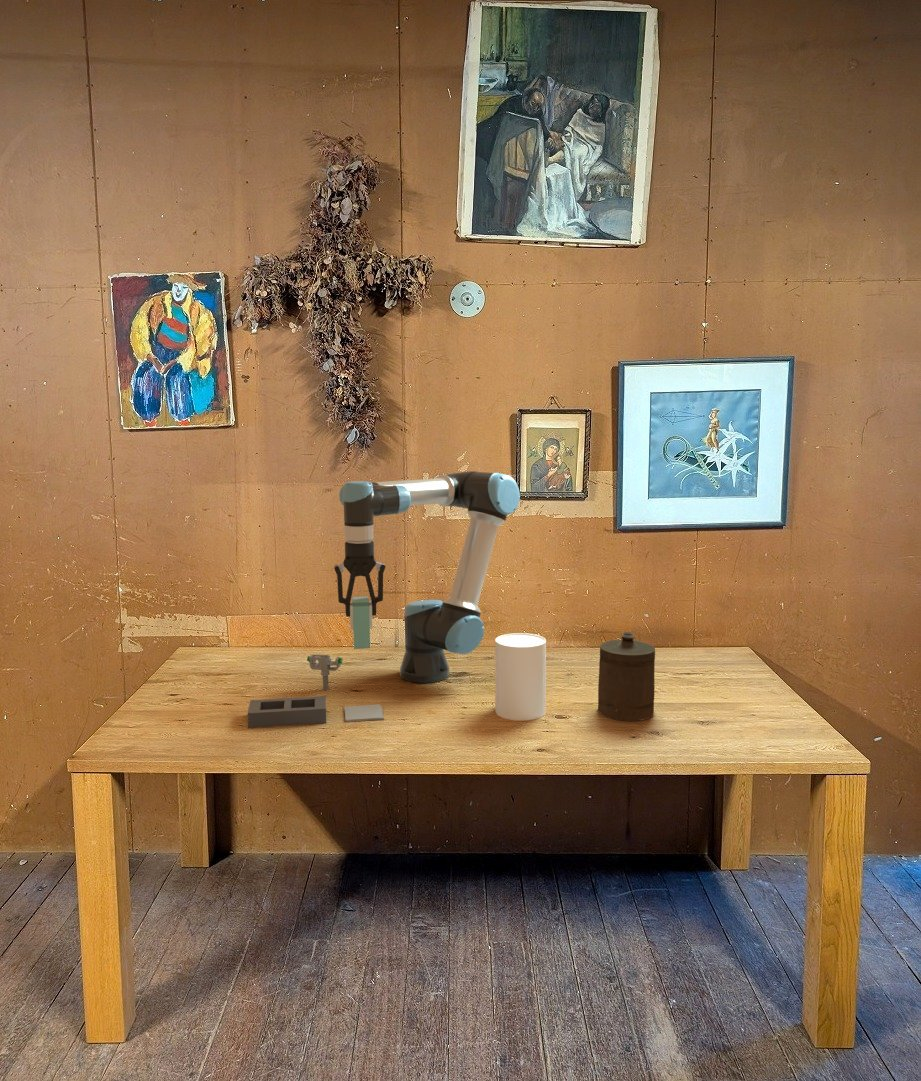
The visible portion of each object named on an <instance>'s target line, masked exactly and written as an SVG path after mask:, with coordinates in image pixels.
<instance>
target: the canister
mask: <svg viewBox="0 0 921 1081" xmlns="http://www.w3.org/2000/svg"><path fill="white" fill-rule="evenodd" d="M494 644H495V645H494V646H495V650H494V651H495V652H494V653H495V655H494V657H495V659H494V660H495V664H494V665H495V666H494V668H495V670H494V674H495V679H494V681H495V682H494V683H495V687H494V689H495V691H494V692H495V693H494V694H495V697H494V698H495V703H494V704H495V705H494V707H495V708H494V710H495V714H496V715H497V716H498V717H501V718H502V719H506V720H511V721H521V722H522V721H532V720H537V719H539V718H542V717H543V716H544V715H545V714H546V696H547V694H546V688H547V687H546V684H547V680H546V678H547V670H546V669H547V640H546V638H545V637H544V636H541V635H538V634H535V633H527V632H524V633H523V632H518V633H517V632H514V633H506V634H502V635H499V636H497V637H495V643H494Z"/></svg>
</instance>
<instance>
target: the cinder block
mask: <svg viewBox="0 0 921 1081" xmlns="http://www.w3.org/2000/svg"><path fill="white" fill-rule="evenodd" d="M326 697H327V696H326V695H318V696H317V695H316V696H314V695H313V696H300V697H283V698H280V697H279V698H267V699H266V698H265V699H264V698H263V699H250V701H249V706H248V710H247V726H248V727H247V729H253V728H256V729H257V728H270V727H271V728H272V727H273V728H274V727H285V726H287V727H288V726H304V725H305V726H306V725H322V724H327V701H326V700H327V698H326Z"/></svg>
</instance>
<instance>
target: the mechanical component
mask: <svg viewBox="0 0 921 1081" xmlns="http://www.w3.org/2000/svg"><path fill="white" fill-rule="evenodd" d="M335 658H336V659H335V660H333V661H332V658H331V655H329V654H314V653H313V654H311V655H308V656H307V658H306V661H307V662H308V663H309V667H310V669H311V670H315V671H320V675H321V676H322V690H323V691H328V690H329V687H330V686H329V675H330V674H331V673H330V672H335V671H337V670H338V669H339V668H340V667H341V666H342V664H343V658H342V657H340V656H336V657H335ZM317 661H318V662H317Z"/></svg>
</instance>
